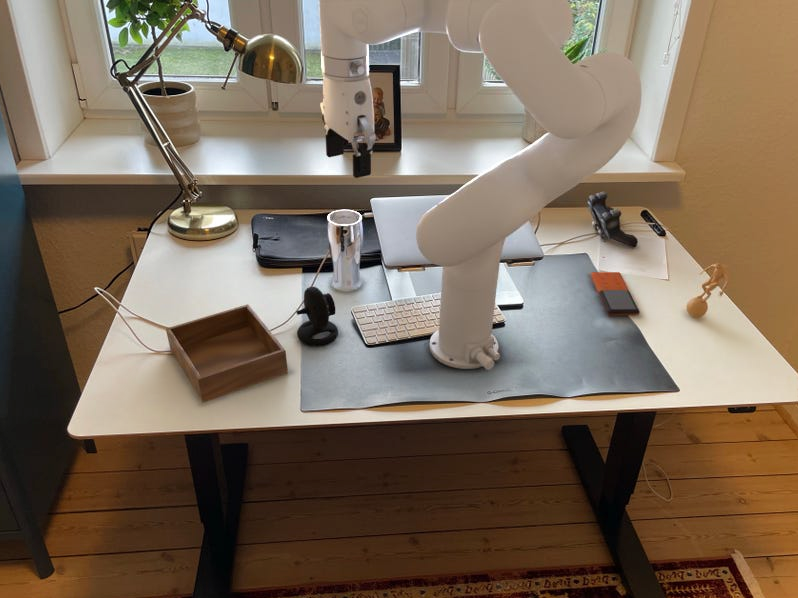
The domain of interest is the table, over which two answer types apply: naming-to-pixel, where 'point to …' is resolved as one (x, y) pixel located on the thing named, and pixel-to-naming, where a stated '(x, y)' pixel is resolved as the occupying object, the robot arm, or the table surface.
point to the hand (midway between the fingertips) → (348, 165)
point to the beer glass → (345, 248)
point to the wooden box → (226, 352)
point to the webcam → (317, 318)
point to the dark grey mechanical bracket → (608, 220)
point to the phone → (614, 293)
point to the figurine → (708, 290)
